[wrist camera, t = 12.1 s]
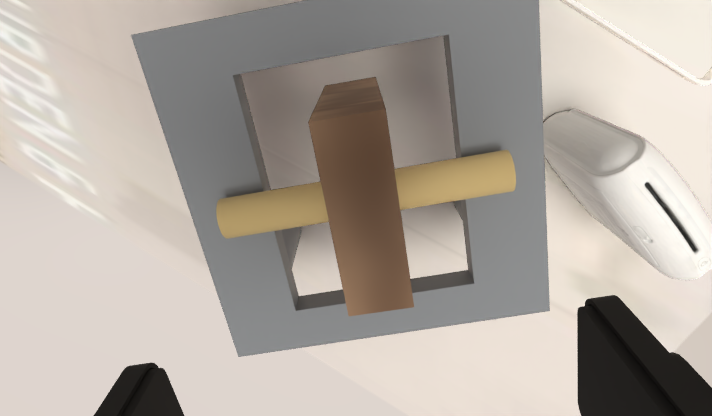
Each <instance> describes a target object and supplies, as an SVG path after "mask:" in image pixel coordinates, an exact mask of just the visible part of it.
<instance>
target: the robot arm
mask: <svg viewBox="0 0 712 416" xmlns="http://www.w3.org/2000/svg"><path fill="white" fill-rule="evenodd" d="M578 405H579V410H580V413H581V416H712V388H711V387H710V386H709V385H708V383H707V382H706V381H705V380H704V379H703V378H702V377H701V376H700V375H699V374H698V373H697V372H696V371H695V370H694V369H693V368H692V366H691V365H690V364H689V363H688V362H687V361H686V360H685V359H684V358H682V357H681V356H680V355H679V354H676V353H674V352H672V353H669V352H668V351H667V350H666V349H665V348H664V347H663V345H662V344H661V343H660V342H659V341H658V340H657V339H656V338H655V337H654V336H653V334H652V333H651V332H650V331H649V330H648V329H647V328H646V327H645V326H644V325H643V324H642V322H641V321H640V320H639V319H638V318H637V317H636V316H635V315H634V314H633V313H632V311H631V310H630V309H629V308H628V307H627V306H626V305H625V304H624V303H623V302H622V301H621V299H620V298H618V297H617V296H615V295H612V296H605V297H598V298H591V299H587V300H586V302H585V306H584V307H579V308H578ZM94 416H184V414H183V412H182V409H181V407H180V405H179V402H178V400H177V397H176V395H175V393H174V390H173V388H172V386H171V383H170V381H169V378H168V376H167V374H166V372H165V370H164V369H163V368H158V366H157V365H156V364H155V363H146V364H139V365H133V366H128V367H126V368H125V369H124V370H123V372H122V373H121V375H120V377H119V378H118V380H117V381H116V382H115V384H114V386H113V387H112V389H111V390H110V392H109V393H108V395H107V396H106V398H105V399H104V401H103V402H102V404H101V406H100V407H99V408H98V410H97V412H96V413H95V415H94Z"/></svg>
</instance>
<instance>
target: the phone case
mask: <svg viewBox="0 0 712 416" xmlns="http://www.w3.org/2000/svg"><path fill="white" fill-rule="evenodd" d="M561 1H562V2H564V3H565V4H567V5H568V6H570V7H572V8H573V9H575V10H576V11H578V12H579V13H581V14H583V15H584V16H586V17H587V18H589V19H591V20H592V21H594V22H595V23H597V24H598V25H600V26H602V27H603V28H605V29H606V30H608V31H610V32H611V33H613V34H614V35H616V36H617V37H619V38H621V39H622V40H624V41H625V42H627V43H628V44H630V45H632V46H633V47H635V48H636V49H641V50H642V51H644V52H645V53H647V54H649V55H650V56H652V57H653V58H655V59H657V60H658V61H660V62H661V63H663V64H664V65H666V66H668V67H669V68H671V69H672V70H674V71H675V72H677V73H679V74H680V75H682V76H681V77H682V78H684V79H685V80H687V81H689V82H690V83H693V84H697V85H702V86H708V85H710V84H712V67H711V69H710V70H709V71H708V72H707V74H706V75H705V76H704V77H703V78H702V79H698V78H696V77H694V76H693V75H691V74H690V73H688V72H687V71H685V70H683V69H682V68H680V67H679V66H677V65H676V64H674V63H672V62H671V61H669V60H668V59H666V58H665V57H663V56H661V55H660V54H658V53H657V52H655V51H654V50H652V49H650V48H649V47H647V46H646V45H644V44H643V43H641V42H639V41H638V40H636V39H635V38H633V37H632V36H630V35H628V34H627V33H625V32H624V31H622V30H621V29H619V28H617V27H616V26H614V25H613V24H611V23H610V22H608V21H606V20H605V19H603V18H602V17H600V16H599V15H597V14H595V13H594V12H592V11H591V10H589V9H588V8H586V7H584V6H583V5H581V4H580V3H578V2H577V1H575V0H561Z"/></svg>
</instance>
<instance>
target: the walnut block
mask: <svg viewBox="0 0 712 416" xmlns="http://www.w3.org/2000/svg"><path fill="white" fill-rule="evenodd" d="M308 123H309V128H310V132H311V137H312V142H313V147H314V152H315V157H316V161H317V166H318V171H319V176H320V181H321V185H322V190H323V195H324V200H325V205H326V210H327V214H328V219H329V224H330V229H331V234H332V239H333V243H334V248H335V253H336V258H337V263H338V267H339V272H340V277H341V282H342V287H343V292H344V296H345V301H346V306H347V311H348V316H356V315H363V314H370V313H377V312H384V311H392V310H399V309H406V308H413V307H414V302H413V295H412V288H411V281H410V274H409V267H408V260H407V253H406V246H405V239H404V232H403V226H402V219H401V212H400V205H399V198H398V191H397V184H396V177H395V170H394V163H393V156H392V149H391V143H390V136H389V129H388V122H387V115H386V109H385V105H384V102H383V99H382V96H381V93H380V90H379V86H378V83H377V80H376V77H372V78H366V79H361V80H355V81H349V82H343V83H338V84H332V85H326V86H325V87H324V89H323V91H322V93H321V96H320V98H319V100H318V102H317V104H316V107H315V109H314V111H313V113H312V115H311V117H310V120H309V122H308Z"/></svg>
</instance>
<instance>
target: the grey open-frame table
mask: <svg viewBox="0 0 712 416" xmlns="http://www.w3.org/2000/svg"><path fill="white" fill-rule="evenodd" d="M131 36H132V39H133V42H134V45H135V48H136V51H137V54H138V57H139V60H140V63H141V66H142V69H143V72H144V75H145V78H146V81H147V84H148V87H149V90H150V93H151V96H152V99H153V102H154V105H155V108H156V111H157V114H158V117H159V120H160V123H161V126H162V129H163V132H164V135H165V138H166V141H167V144H168V147H169V150H170V153H171V156H172V159H173V162H174V165H175V168H176V171H177V174H178V177H179V180H180V183H181V186H182V189H183V192H184V195H185V198H186V201H187V204H188V207H189V210H190V213H191V216H192V219H193V222H194V225H195V228H196V231H197V234H198V237H199V240H200V243H201V246H202V249H203V252H204V255H205V258H206V261H207V264H208V267H209V270H210V273H211V276H212V279H213V282H214V285H215V288H216V291H217V294H218V297H219V300H220V303H221V306H222V309H223V312H224V315H225V317H226V320H227V323H228V327H229V329H230V333H231V336H232V339H233V342H234V345H235V347H236V350H237V353H238V356H239V357H241V356H248V355H255V354H262V353H268V352H275V351H282V350H289V349H295V348H302V347H309V346H316V345H322V344H329V343H336V342H343V341H349V340H356V339H363V338H370V337H376V336H383V335H390V334H397V333H404V332H410V331H417V330H424V329H431V328H437V327H444V326H451V325H458V324H464V323H471V322H478V321H485V320H491V319H498V318H505V317H512V316H518V315H525V314H532V313H539V312H545V311H550V308H549V280H548V251H547V223H546V194H545V166H544V137H543V109H542V80H541V52H540V24H539V0H305V1H300V2H295V3H290V4H285V5H280V6H275V7H270V8H265V9H260V10H255V11H250V12H245V13H239V14H234V15H229V16H224V17H219V18H214V19H209V20H204V21H199V22H194V23H189V24H184V25H179V26H174V27H169V28H164V29H159V30H154V31H149V32H144V33H139V34H134V35H131ZM438 36H444V46H445V55H446V65H447V74H448V84H449V93H450V103H451V112H452V121H453V131H454V140H455V150H456V158H455V159H449V160H444V161H438V162H432V163H426V164H420V165H414V166H409V167H403V168H397V169H394V170H395V177H396V184H397V191H398V198H399V205H400V210H404V209H410V208H416V207H422V206H428V205H434V204H440V203H446V202H452V201H455V202H454V203H455V207H456V209H457V211H458V212H459V214H460V216H461V218H462V220H463V225H464V235H465V244H466V254H467V263H468V270H466V271H459V272H453V273H447V274H440V275H434V276H427V277H421V278H414V279H410V281H411V288H412V295H413V302H414V307H413V308H406V309H399V310H392V311H384V312H377V313H370V314H363V315H356V316H348V311H347V306H346V301H345V296H344V292H343V290H337V291H331V292H324V293H318V294H311V295H305V296H298V292H297V288H296V284H295V280H294V276H293V273H292V266H293V262H294V258H295V254H296V250H297V247H298V243H299V239H300V235H301V226H307V225H313V224H319V223H325V222H329V219H328V214H327V210H326V205H325V200H324V195H323V190H322V185H321V182H315V183H310V184H304V185H298V186H292V187H286V188H280V189H275V190H271V188H270V185H269V181H268V177H267V173H266V169H265V166H264V162H263V158H262V154H261V150H260V146H259V143H258V139H257V135H256V131H255V127H254V123H253V120H252V116H251V112H250V108H249V104H248V100H247V97H246V93H245V89H244V85H243V81H242V78H241V74H243V73H248V72H253V71H258V70H264V69H269V68H274V67H280V66H285V65H290V64H295V63H301V62H306V61H311V60H316V59H322V58H327V57H332V56H338V55H343V54H348V53H353V52H359V51H364V50H369V49H374V48H380V47H385V46H390V45H396V44H401V43H406V42H411V41H417V40H422V39H427V38H433V37H438Z"/></svg>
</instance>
